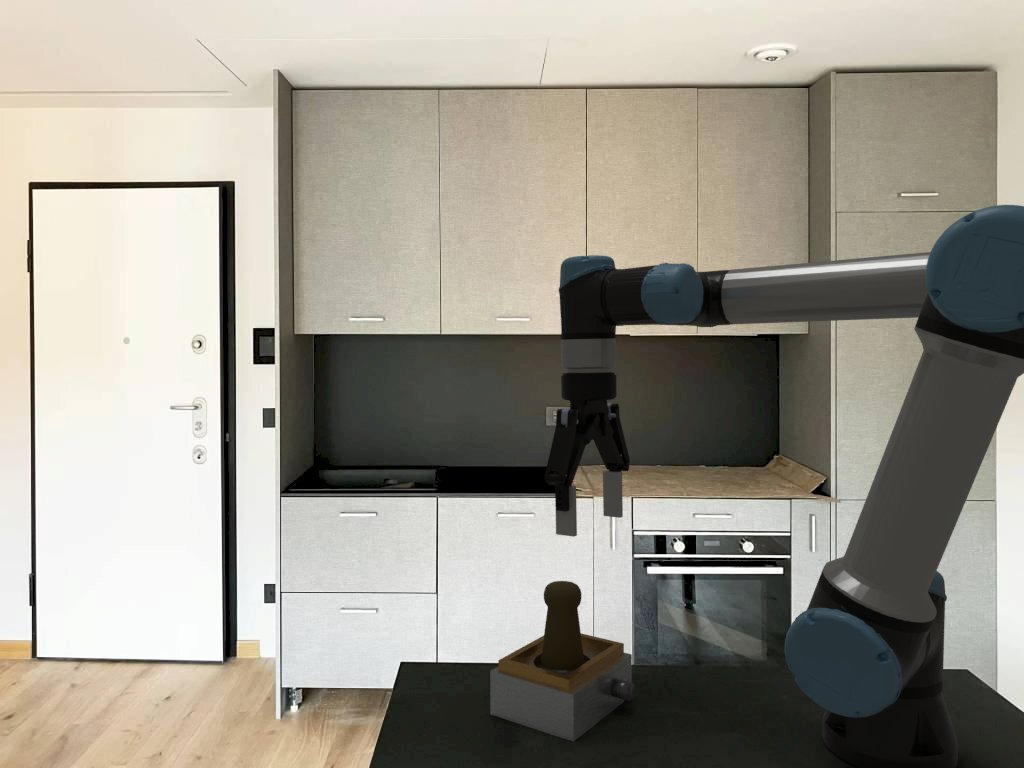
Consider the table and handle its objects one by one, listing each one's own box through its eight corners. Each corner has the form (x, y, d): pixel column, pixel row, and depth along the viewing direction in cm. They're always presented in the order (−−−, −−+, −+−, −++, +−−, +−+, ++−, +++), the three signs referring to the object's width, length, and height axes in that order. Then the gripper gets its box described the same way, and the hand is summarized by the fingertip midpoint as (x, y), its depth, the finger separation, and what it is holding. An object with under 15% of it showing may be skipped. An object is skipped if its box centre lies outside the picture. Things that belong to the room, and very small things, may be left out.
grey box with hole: (647, 700, 112) (647, 647, 112) (590, 747, 99) (590, 688, 98) (553, 674, 121) (553, 625, 120) (490, 714, 108) (490, 659, 107)
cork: (581, 652, 113) (581, 576, 113) (587, 670, 107) (587, 589, 107) (539, 653, 113) (539, 576, 112) (542, 671, 107) (542, 590, 106)
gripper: (605, 368, 122) (607, 507, 122) (515, 373, 101) (518, 540, 102) (651, 368, 118) (653, 512, 118) (567, 373, 97) (570, 547, 98)
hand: (590, 525), depth 110 cm, fingers open, 13 cm apart
